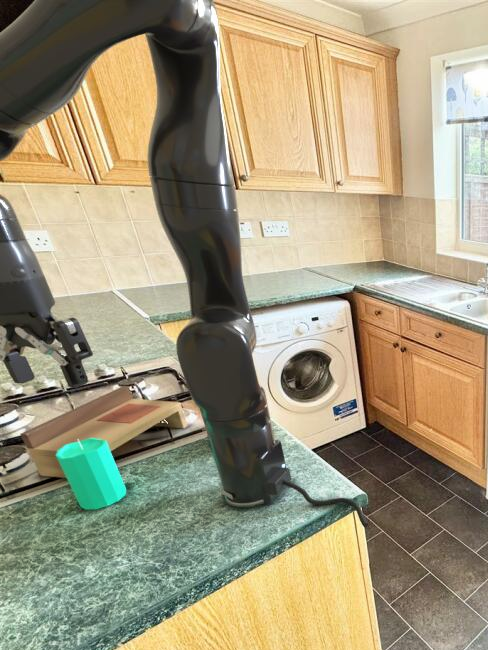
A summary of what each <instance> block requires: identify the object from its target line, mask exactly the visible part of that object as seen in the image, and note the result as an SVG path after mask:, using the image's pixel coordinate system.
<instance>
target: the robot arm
mask: <svg viewBox="0 0 488 650" xmlns="http://www.w3.org/2000/svg"><path fill="white" fill-rule="evenodd" d="M141 35H144V36H145V38H146V39H145V40H146V42H147V45H148V50H149V53H150V58H151V62H152V68H153V72H154V77H155V84H156V104H155V105H156V106H155V112H154V117H153V121H152V125H151V129H150V134H149V140H148V144H147V170H148V176H149V180H150V186H151V191H152V195H153V201H154V205H155V208H156V212H157V215H158V218H159V221H160V224H161V226H162V227H161V228H162V229H163V231H164V234H165V236H166V238H167V240H168V241H169V243H170V246H171V248H172V250H173V251H174V253H175V255H176V256H177V259H178V260H179V264H180V265H181V267H182V270H183V272H184V276H185V279H186V284H187V290H188V299H189V309H190V313H189V314H190V317H189V318H190V319H189V322H188V323H187V324H186V325H185V326H184V327H183V328H182V329H181V330H180V332H179V333H178V335H177V338H176V342H175V346H176V347H175V349H176V357H177V360H178V363H179V366H180V370H181V373H182V375H183V378H184V381H185V385H186V386H187V389H188V392H189V395H190V398H191V399H192V401H193V402H194V404H195V405H196V407H198V408H199V411H200V414H201V418H202V423H203V425H204V428H205V432H206V435H207V438H208V442H209V446H210V449H211V452H212V456H213V459H214V463H215V466H216V469H217V474H218V476H219V479H220V483H221V486H222V488H220V491H221V494H223V496H224V499H225V502H226V503H227V504H228V505H229V506H231V507H233V508H237V509H247V508H248V509H249V508H254V507H258V506H261V505H271V504H272V503H274V502H275V500H276V499H277V498H278V497H279V495H281V494H282V493H283V491H284V490H285V489H286V488H287V487H289V488H291V489H293V490H295V491H296V492H298V493H300V494H301V496H303V498H304V499H305V501H306V502H307V503H309V504H311V505H315V506H327V505H334V504H338V503H343V504H344V503H345V504H347V505H350V506H352V507H353V509H355V511H356V515H357V517H358V520H359V521H360V523H361V525H362V527H363V528H367V527H368V526H369V524H368V521H367V520H366V517H365V515H364V513H363V511H362V508H361V507H360V505H359V504H358V503H357V502H356V501H354V500H353V499H350V498H347V497H338V498H337V497H336V498H332V499H326V500H325V499H324V500H317V499H313V498H312V497H311V496H310V495H309V493H308V492H307V491H306V489H304V488H303V487H301V486H299V484H296V483H294V482H292V474H291V470H290V468H289V467H287V465H286V464H287V463H286V460H285V454H284V450H283V444H282V441H281V440H280V439H276V437H275V433H274V429H273V425H272V420H271V414H270V410H269V406H268V399H267V395H266V390H265V389H264V387H263V386H261V384H260V383H259V379H258V375H257V371H256V367H255V362H254V357H253V353H254V351H255V349H256V346H257V341H258V337H257V336H258V335H257V330H256V325H255V323H254V319H253V316H252V310H251V308H250V304H249V300H248V296H247V292H246V288H245V283H244V276H243V261H242V260H243V259H242V243H241V230H240V218H239V217H240V216H239V209H238V200H237V194H236V193H237V192H236V187H235V180H234V179H235V178H234V174H233V168H232V162H231V156H230V155H231V154H230V147H229V139H228V133H227V127H226V121H225V115H224V109H223V100H222V86H221V85H222V83H221V61H220V60H221V59H220V58H221V57H220V29H219V18H218V11H217V8H216V4H215V1H214V0H34V1H32V3H31V4H30V5H29V6H28V7H27V8H26V9H25V10H24V11H23V12H22V13H21V14H20V15H19V16H18V17H17V18H16V19H15V20H13V22H12V23H11V24H9V25H8V26H7V27H6V28H4V29H3V30H2V31H1V32H0V163H1V162H3V161H4V160H6V159H7V158H9V157H10V156H11V155H12V153H14V151H15V149H17V147H18V146H19V144H20V143H21V142H22V140H23V139H24V137H25V136H26V133H27V132H28V130H30V129H31V128H33V127H35V126H36V125H38V124H40V123H41V122H43V121H44V120H46V119H48V118H50V116H52V115H53V114H55V113H57V112H59V111H60V110H61V109H63V108H64V107H65V106H66V105H68V104H69V103H70V102H72V100H73V98H75V96H76V95H77V94H78V92H79V91H80V89H81V88H82V85H83V83H84V82H85V80H86V77H87V76H88V73H89V71H90V70H91V68H92V66H93V65H94V63H95V62H96V61H97V60H98V59H99V58H100V57H101V56H102V55H104V53H106V52H107V51H109V50H110V49H112V48H113V47H115V46H116V45H119V44H121V43H123V42H126V41H128V40H130V39H133V38H136V37H139V36H141ZM53 295H54V294H53V293H52V290H51V288H50V285H49V283H48V281H47V279H46V276H45V274H44V271H43V269H42V267H41V264H40V262H39V259H38V257H37V255H36V253H35V252H34V250H33V249H32V247H31V245H30V243H29V241H28V239H27V237H26V235H25V232H24V230H23V227H22V225H21V223H20V219H19V218H18V215H17V212H16V211H15V209H14V206H13V205H12V204H11V202H10V200H9V199H8V198H7V197H6V196H4V195H2V194H0V361H1V362H3V364H4V366H5V368H6V370H7V372H8V374H9V376H10V377H11V379H12V381H13V382H14V383H15V384H26V383H28V382H30V381H33V380H34V379H35V378H36V376H35V374H34V372H33V370H32V367H31V365H30V363H29V361H28V359H27V356H25V355H24V351H25V348H31V349H37V350H38V351H39V352H41V354H43V355H48V356H50V357H52V359H54V360H55V361H56V362H57V363H58V364H60V365H59V368H60V370H61V372H62V375H63V378H64V379H65V381H66V383H67V384H66V385H67V386H68V388H72V389H73V388H74V389H76V388H80V387H83V386H85V385H87V383H88V382H89V377H88V375H87V372H86V369H85V367H84V365H83V363H82V361H83V360H86V359H88V358H90V357H93V355H94V353H93V351H92V348H91V346H90V344H89V342H88V340H87V338H86V335H85V334H84V330H83V328H82V326H81V324H80V323H79V320H78V319H77V318H75V317H69V318H64V319H57V318H56V317H55V316H54V315H53V313H52V308H53V307H54V306H55V304H56V300H55V298H54V296H53ZM55 340H56V341H57V342H56V343H54V342H55ZM75 345H77V346H78V349H79V350H77V348H76V347H75ZM61 351H64V353H65V354H66V355H64V354H63V353H62V352H61Z"/></svg>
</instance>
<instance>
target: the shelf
mask: <svg viewBox="0 0 488 650" xmlns="http://www.w3.org/2000/svg"><path fill="white" fill-rule="evenodd" d="M164 419H165V420H166V421H167V422H168V424H167V423H166V424H165V423H159V422H160V421H162V420H164ZM152 427H160V428H161V427H162V428H173V429H185V428H187V427H188V423H187V420H186V416H185V412H184V410H183V407H182V403H181V402H179V401H165V400H156V399H155V400H154V399H142V398H141V399H140V398H134V397H133V394H132V392H131V389H130V386H127V385H123V386H121V387H119V388H116V389H114V390H112V391H110V392H107V393H106V394H104V395H101V396H99V397H97V398H95V399H92V400H90V401H88V402H85V403H84V404H82V405H80V406H78V407H74V408H73V409H71V410H69V411H66V412H64V413H62V414H60V415H58V416H56V417H53V418H51V419H50V420H47V421H45V422H43V423H41V424H39V425H37V426H34V427H32V428H30V429H27V430H25V431H24V432H21V433H20V437H21V439H22V441H23V443H24V445H25V447H26V449H27V451H28V453H29V454H30V456H31V458H32V460H33V462H34V464H35V466H36V469H37V470H38V473H39V474H40V476H42V477H51V478H52V477H53V478H62V479H64V478H65V479H67V478H66V476H65V474H64V472H63V470H62V467H61V465H60V463H59V461H58V459H57V457H56V453H57V451H58V450H59V449H60V448H62V447H63V446H64V445H66V444H70V443H75V442H78V440H77V439H79V441H82V440H85V439H89V438H95V439H102V440H106V442H107V444H108V446H109V449H110V451H111V452H112V451H114V450H115V449H117V448H119V447H120V446H122V445H125V444H126V443H127V442H129V441H131V440H132V439H134V438H136V437H137V436H138V435H140V434H142V433H144V432H145V431H147V430H149V429H150V428H152Z"/></svg>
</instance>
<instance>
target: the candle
mask: <svg viewBox="0 0 488 650" xmlns="http://www.w3.org/2000/svg"><path fill="white" fill-rule="evenodd" d="M77 440H78V442H75V443H70V444H66V445H64V446H63V447H62V448H60V449H59V450H58V451H57V453H56V457H57V459H58V461H59V463H60V465H61V467H62V470H63V472H64V474H65V476H66V478H65V479H66V480H67V482H68V485H69V486H70V489H71V491H72V492H73V494H74V496H75V499H76V501H77V502H78V505H79V507H80V508H82V509H83V510H98V509H102V508H105V507H109V506H110V505H113V504H115V503H117V502H119V501H121V499H123V498H124V497H125V496H126V494H127V488H126V485H125V483H124V480H123V478H122V475H121V474H120V471H119V469H118V465H117V463H116V462H115V461H116V460H115V458H114V456H113V454H112V451H110V449H109V446H108V444H107V442H106V440H102V439H95V438H89V439H85V440H82V441H79V439H77Z"/></svg>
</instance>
